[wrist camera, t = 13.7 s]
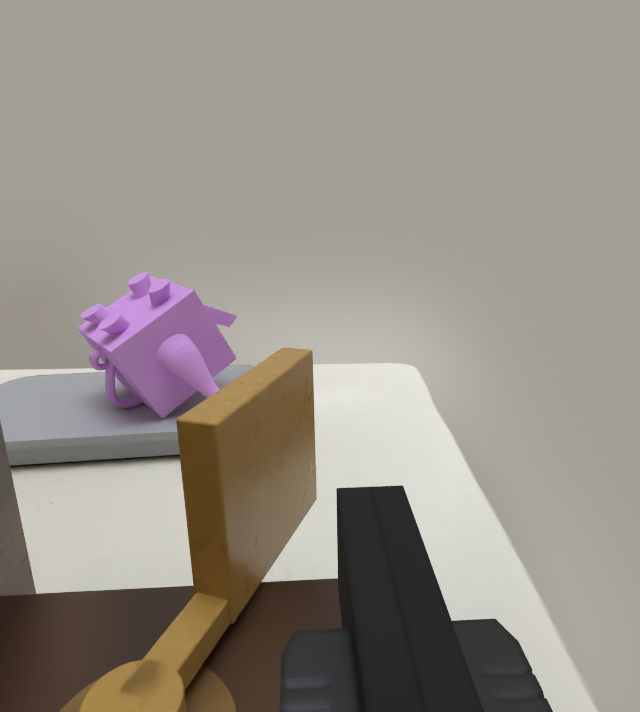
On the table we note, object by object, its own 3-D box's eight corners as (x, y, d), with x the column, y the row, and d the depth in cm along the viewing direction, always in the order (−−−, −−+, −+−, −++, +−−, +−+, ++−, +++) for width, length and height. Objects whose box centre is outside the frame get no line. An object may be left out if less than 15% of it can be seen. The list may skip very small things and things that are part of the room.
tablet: (13, 397, 57) (9, 376, 56) (267, 383, 59) (266, 363, 58) (-80, 475, 41) (-88, 447, 40) (269, 452, 43) (268, 425, 43)
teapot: (155, 241, 54) (204, 320, 59) (36, 321, 49) (102, 398, 55) (246, 258, 40) (300, 358, 46) (95, 371, 36) (175, 468, 41)
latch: (276, 492, 26) (269, 345, 24) (329, 501, 25) (326, 350, 23) (60, 760, 14) (7, 510, 12) (147, 794, 13) (107, 532, 11)
